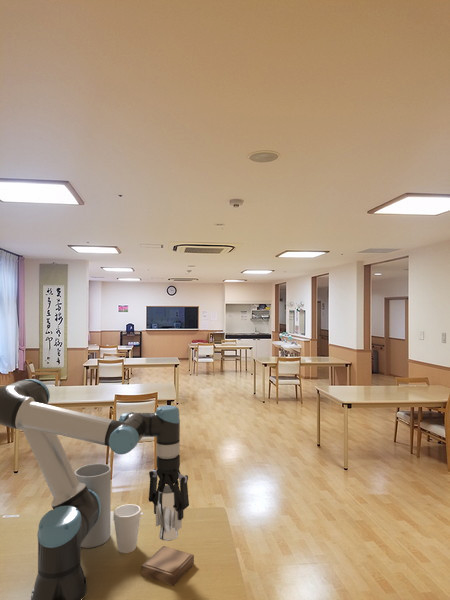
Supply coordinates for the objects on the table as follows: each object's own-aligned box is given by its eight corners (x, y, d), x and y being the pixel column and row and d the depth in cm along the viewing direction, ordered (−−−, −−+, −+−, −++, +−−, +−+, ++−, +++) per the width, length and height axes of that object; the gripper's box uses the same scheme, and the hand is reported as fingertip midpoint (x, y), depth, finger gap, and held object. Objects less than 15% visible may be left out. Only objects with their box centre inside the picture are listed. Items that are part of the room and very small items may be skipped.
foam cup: (133, 557, 138) (133, 518, 139) (108, 554, 140) (108, 515, 141) (144, 541, 148) (144, 505, 148) (120, 539, 150) (121, 503, 150)
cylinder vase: (69, 538, 150) (69, 469, 151) (101, 526, 159) (101, 461, 159) (82, 553, 141) (83, 480, 142) (116, 539, 149) (116, 470, 150)
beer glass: (182, 531, 134) (182, 485, 135) (174, 543, 128) (174, 494, 128) (163, 528, 136) (163, 483, 137) (154, 540, 130) (153, 492, 130)
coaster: (141, 575, 129) (141, 564, 129) (163, 554, 140) (163, 545, 140) (173, 586, 124) (173, 575, 124) (193, 564, 135) (193, 554, 135)
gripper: (200, 455, 132) (200, 527, 131) (150, 447, 140) (150, 515, 140) (188, 463, 125) (188, 539, 125) (136, 454, 134) (136, 525, 133)
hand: (168, 526), depth 132 cm, fingers closed on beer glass, 7 cm apart
